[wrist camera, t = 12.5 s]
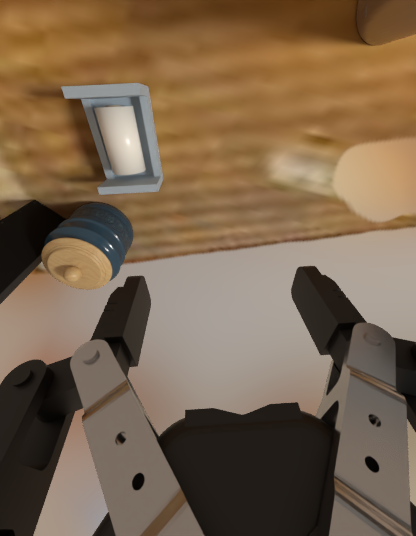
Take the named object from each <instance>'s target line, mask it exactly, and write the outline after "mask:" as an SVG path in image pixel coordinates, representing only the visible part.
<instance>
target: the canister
mask: <svg viewBox="0 0 416 536" xmlns="http://www.w3.org/2000/svg"><path fill="white" fill-rule="evenodd" d="M132 241H133V229H132V226H131V223H130V221H129V220H128V218H127V217H126V216H125V215H124V214H123V213H122V212H121V211H120V210H118V209H117V208H115V207H113V206H111V205H109V204H105V203H100V202H93V203H88V204H85V205H82V206H80V207H79V208H77V209H76V210H75V211H74V212H73V213H72V215H71V216H70V217H69V218H68V219H67V220H65V221H63V222H62V223H60V224H59V225H58V226H57V228H56V229H55V230H53V231H52V232H50V233H49V234H48V235H47V237H46V239H45V241H44V248H43V250H42V255H41V257H42V262H43V264H44V266H45V268H46V270H47V271H48V272H49V273H50V274H51V275H52V276H53V277H54V278H55V279H57V280H58V281H60V282H62V283H64V284H66V285H68V286H71V287H74V288H78V289H86V290H90V289H97V288H100V287H102V286H104V285H105V284H106V283H108V282H109V281H110V280H112V279H113V278H115V276H117V274H118V273H119V270H120V266H121V265H122V264H123V262H124V259H125V255H126V253H127V251H128V249H129V248H130V246H131V244H132Z"/></svg>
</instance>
